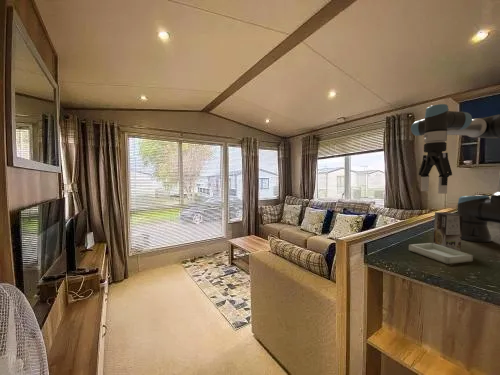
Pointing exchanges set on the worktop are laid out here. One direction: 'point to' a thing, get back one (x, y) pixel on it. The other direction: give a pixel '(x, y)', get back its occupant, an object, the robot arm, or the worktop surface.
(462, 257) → the tray
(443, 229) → the coffee box
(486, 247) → the worktop surface
